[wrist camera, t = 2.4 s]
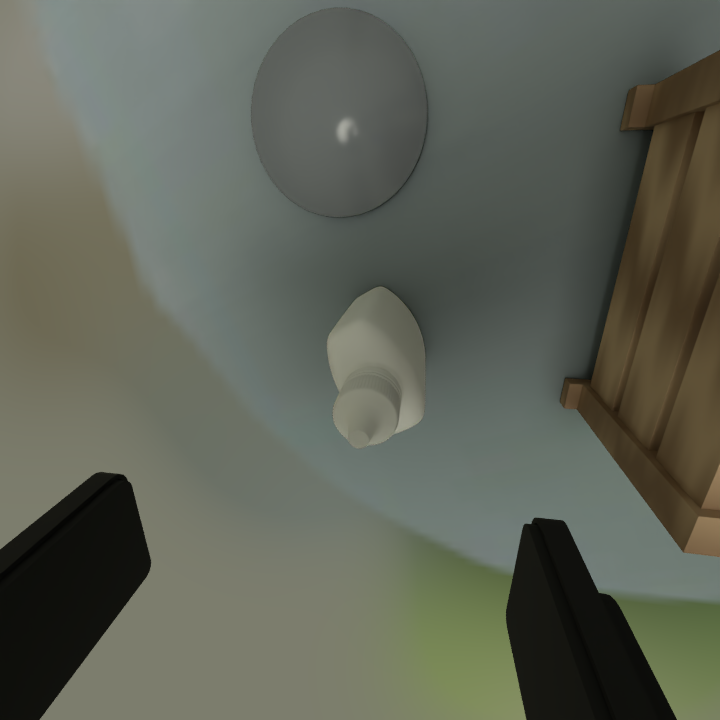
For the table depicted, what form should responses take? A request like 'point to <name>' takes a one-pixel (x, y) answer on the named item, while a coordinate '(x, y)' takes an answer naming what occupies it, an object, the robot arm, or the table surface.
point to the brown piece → (667, 315)
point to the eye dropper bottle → (377, 369)
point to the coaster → (339, 112)
